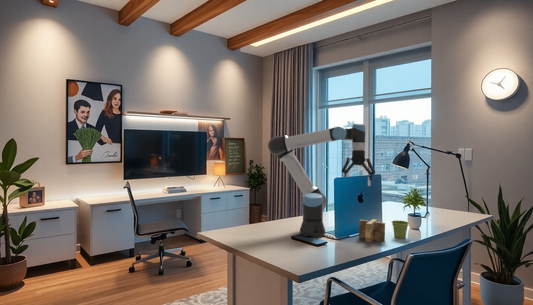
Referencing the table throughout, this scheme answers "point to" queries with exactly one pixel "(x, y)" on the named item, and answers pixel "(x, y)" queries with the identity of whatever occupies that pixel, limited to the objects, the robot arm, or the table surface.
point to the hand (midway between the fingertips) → (357, 185)
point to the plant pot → (400, 228)
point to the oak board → (370, 230)
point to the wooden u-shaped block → (377, 234)
